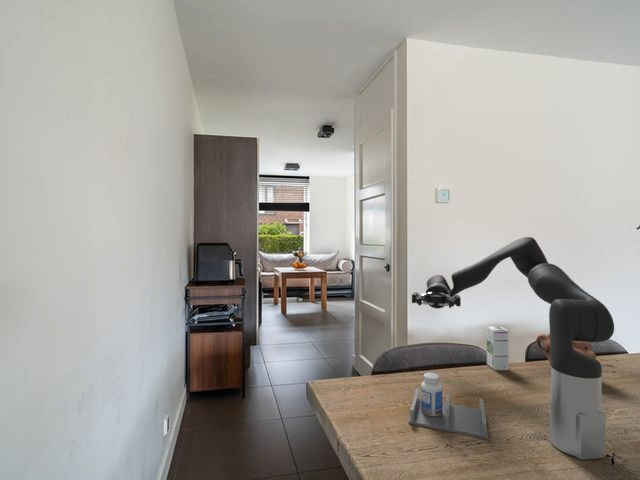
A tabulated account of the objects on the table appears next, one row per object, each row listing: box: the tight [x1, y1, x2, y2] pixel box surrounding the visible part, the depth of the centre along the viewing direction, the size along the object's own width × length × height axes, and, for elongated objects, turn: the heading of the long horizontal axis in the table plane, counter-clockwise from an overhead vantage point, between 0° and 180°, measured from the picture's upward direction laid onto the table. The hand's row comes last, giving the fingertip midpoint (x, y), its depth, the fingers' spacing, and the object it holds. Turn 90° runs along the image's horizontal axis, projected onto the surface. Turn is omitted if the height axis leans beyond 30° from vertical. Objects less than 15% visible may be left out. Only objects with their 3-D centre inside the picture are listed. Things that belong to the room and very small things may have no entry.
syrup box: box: [486, 325, 510, 371], centre depth 129 cm, size 6×6×14 cm
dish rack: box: [408, 388, 489, 440], centre depth 92 cm, size 14×18×4 cm
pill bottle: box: [420, 372, 443, 416], centre depth 93 cm, size 6×5×10 cm
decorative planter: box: [535, 332, 597, 366], centre depth 124 cm, size 20×12×14 cm, turn 28°
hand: (434, 303), depth 103 cm, fingers open, 8 cm apart
